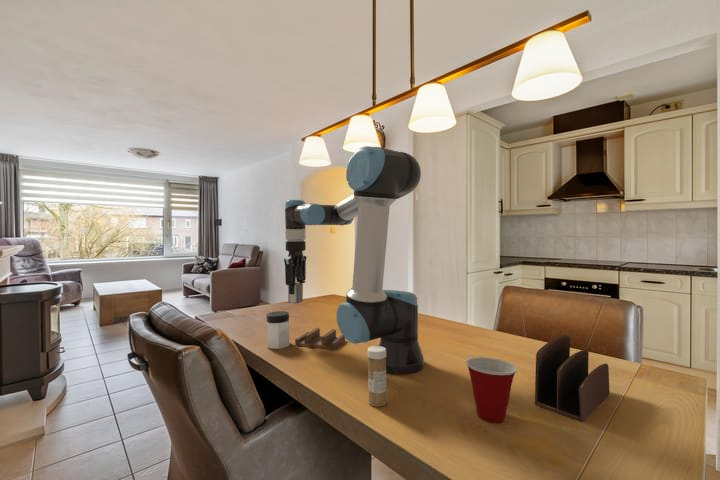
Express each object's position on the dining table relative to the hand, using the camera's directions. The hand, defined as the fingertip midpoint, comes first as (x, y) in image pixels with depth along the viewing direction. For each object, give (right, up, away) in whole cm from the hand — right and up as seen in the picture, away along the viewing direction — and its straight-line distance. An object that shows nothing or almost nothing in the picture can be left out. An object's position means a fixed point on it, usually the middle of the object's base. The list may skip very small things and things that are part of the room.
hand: (296, 300), depth 131 cm
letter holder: (+77, -16, -48) cm, 92 cm away
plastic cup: (+54, -16, -55) cm, 79 cm away
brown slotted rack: (+10, -16, -2) cm, 19 cm away
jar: (-6, -16, -5) cm, 18 cm away
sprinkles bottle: (+29, -16, -48) cm, 58 cm away
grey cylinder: (0, 0, 0) cm, 0 cm away
